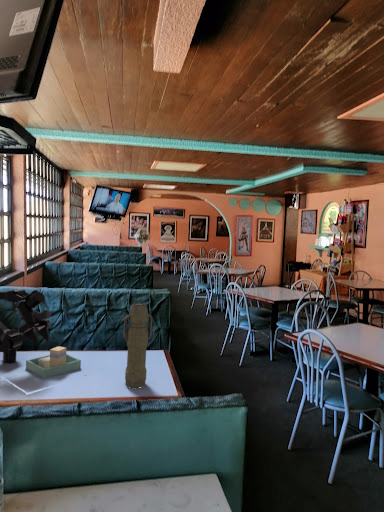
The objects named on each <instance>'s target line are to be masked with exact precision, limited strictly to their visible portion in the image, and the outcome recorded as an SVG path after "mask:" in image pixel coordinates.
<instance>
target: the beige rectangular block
mask: <svg viewBox="0 0 384 512" xmlns="http://www.w3.org/2000/svg"><path fill="white" fill-rule="evenodd" d="M38 366H40V367H42V368H44V369H47V368H49V367H50V357H46V358H41V359H39V360H38Z"/></svg>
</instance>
